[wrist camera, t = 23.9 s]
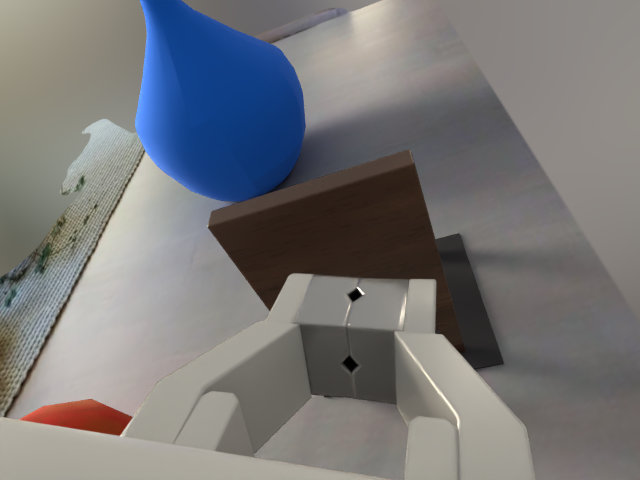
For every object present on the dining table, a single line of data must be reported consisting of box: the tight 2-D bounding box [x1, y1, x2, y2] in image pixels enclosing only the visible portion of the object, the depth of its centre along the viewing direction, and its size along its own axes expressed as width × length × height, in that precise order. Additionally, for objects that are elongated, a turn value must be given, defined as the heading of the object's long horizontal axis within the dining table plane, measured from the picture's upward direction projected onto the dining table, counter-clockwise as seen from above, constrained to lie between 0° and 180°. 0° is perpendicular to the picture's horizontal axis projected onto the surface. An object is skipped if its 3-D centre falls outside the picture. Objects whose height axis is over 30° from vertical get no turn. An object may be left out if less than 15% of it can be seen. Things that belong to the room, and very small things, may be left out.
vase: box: [135, 0, 306, 201], centre depth 45 cm, size 18×18×30 cm
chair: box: [208, 149, 466, 353], centre depth 29 cm, size 10×10×16 cm
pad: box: [324, 233, 504, 397], centre depth 34 cm, size 12×12×1 cm
